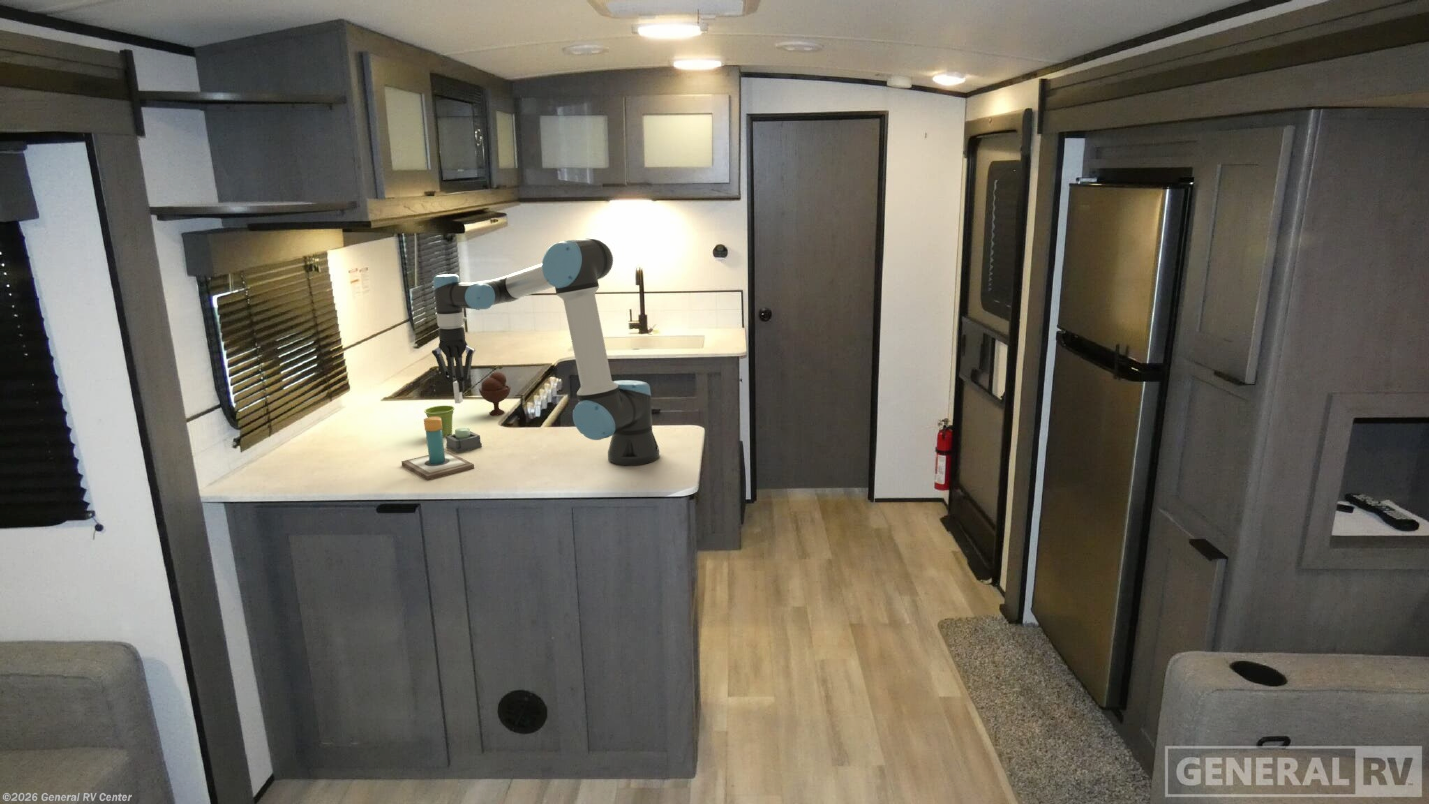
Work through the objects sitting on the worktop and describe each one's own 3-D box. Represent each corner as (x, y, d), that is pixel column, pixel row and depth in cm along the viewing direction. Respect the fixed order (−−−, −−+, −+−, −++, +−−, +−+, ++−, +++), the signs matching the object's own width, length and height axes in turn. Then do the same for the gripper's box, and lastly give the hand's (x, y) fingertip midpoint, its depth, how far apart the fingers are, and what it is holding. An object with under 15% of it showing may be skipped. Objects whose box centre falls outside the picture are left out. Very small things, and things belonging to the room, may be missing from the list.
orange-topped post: (448, 461, 247) (444, 418, 244) (433, 465, 244) (428, 422, 241) (441, 458, 251) (436, 415, 248) (426, 461, 248) (420, 419, 245)
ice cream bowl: (496, 408, 310) (492, 367, 306) (519, 411, 304) (515, 370, 300) (474, 415, 301) (470, 374, 297) (497, 419, 295) (493, 377, 292)
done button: (473, 438, 265) (472, 429, 264) (459, 442, 262) (458, 432, 261) (466, 436, 268) (465, 426, 267) (453, 439, 265) (452, 429, 265)
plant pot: (426, 440, 274) (423, 414, 272) (428, 432, 283) (424, 406, 280) (456, 437, 276) (454, 411, 274) (457, 429, 285) (454, 404, 283)
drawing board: (474, 468, 246) (473, 463, 246) (427, 480, 237) (426, 475, 237) (447, 454, 259) (446, 449, 259) (401, 465, 250) (401, 460, 250)
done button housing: (481, 446, 265) (480, 435, 264) (457, 452, 260) (456, 441, 259) (470, 441, 271) (469, 430, 270) (446, 447, 266) (445, 436, 265)
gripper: (476, 324, 259) (483, 398, 265) (434, 324, 260) (442, 399, 266) (468, 328, 252) (475, 405, 258) (425, 328, 253) (433, 405, 259)
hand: (458, 402), depth 262 cm, fingers closed
